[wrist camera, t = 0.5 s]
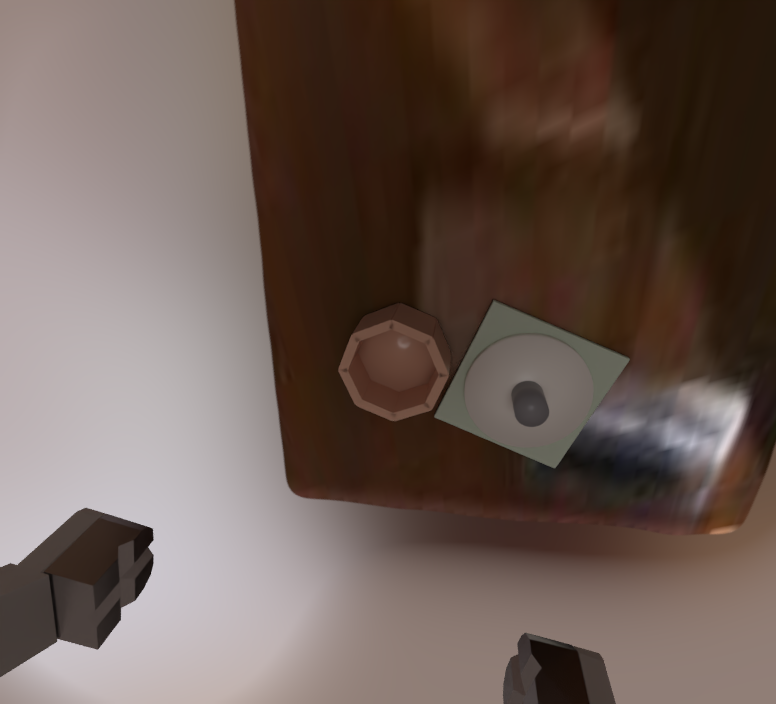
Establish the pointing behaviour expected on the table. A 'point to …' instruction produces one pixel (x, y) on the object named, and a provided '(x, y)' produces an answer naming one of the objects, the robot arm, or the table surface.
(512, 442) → the lid
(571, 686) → the robot arm
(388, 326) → the bowl
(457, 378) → the mat
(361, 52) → the table surface
